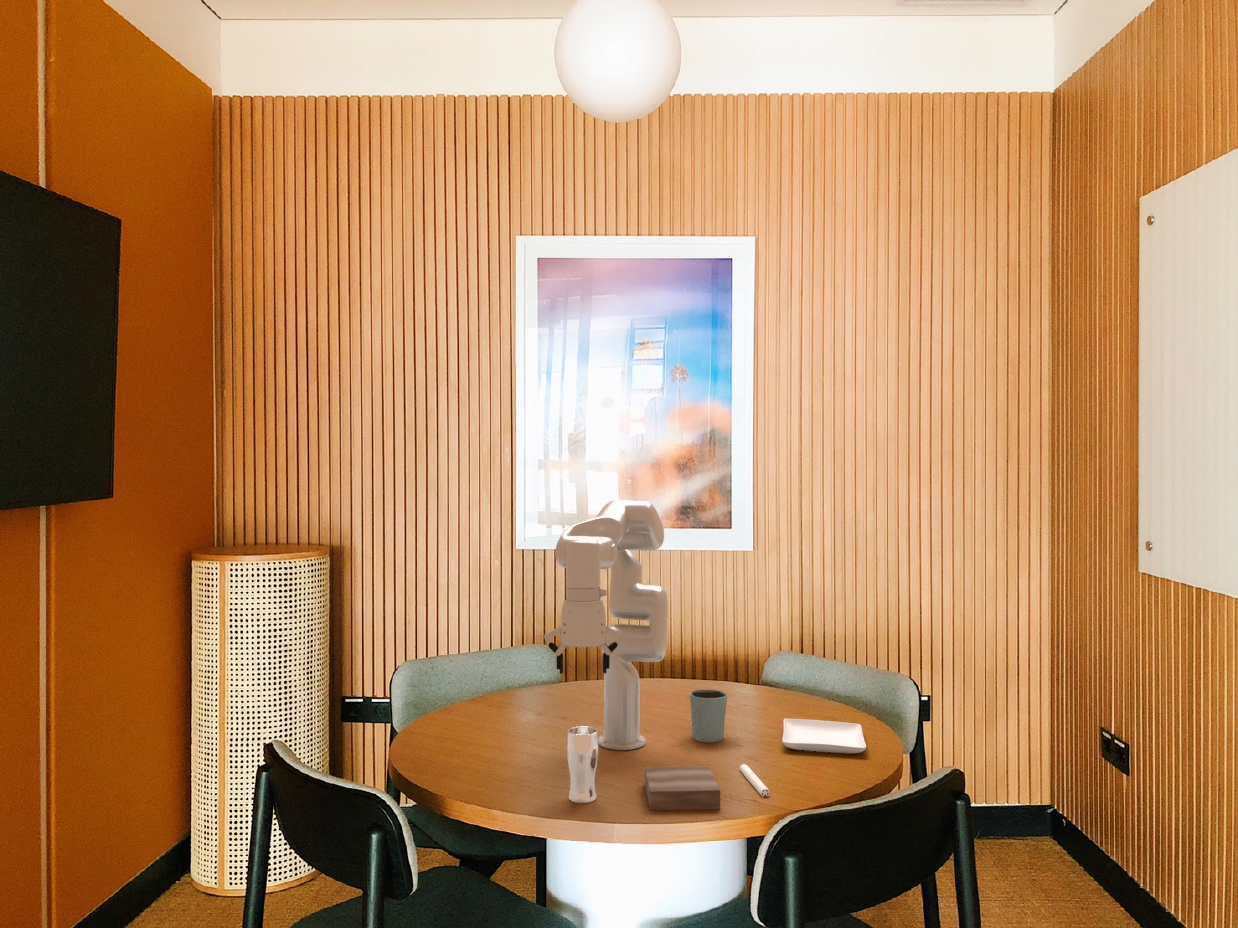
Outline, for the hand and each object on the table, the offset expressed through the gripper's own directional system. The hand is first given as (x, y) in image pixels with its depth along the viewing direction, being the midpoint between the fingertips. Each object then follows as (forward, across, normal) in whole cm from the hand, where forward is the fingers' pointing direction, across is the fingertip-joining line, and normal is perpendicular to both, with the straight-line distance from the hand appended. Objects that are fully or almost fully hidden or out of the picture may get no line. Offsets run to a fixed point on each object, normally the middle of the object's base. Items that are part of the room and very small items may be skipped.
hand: (583, 672), depth 188 cm
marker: (+28, -40, -8) cm, 50 cm away
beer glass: (+28, 0, 0) cm, 28 cm away
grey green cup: (+28, -35, -42) cm, 62 cm away
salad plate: (+28, -65, -36) cm, 80 cm away
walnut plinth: (+28, -22, 0) cm, 36 cm away
